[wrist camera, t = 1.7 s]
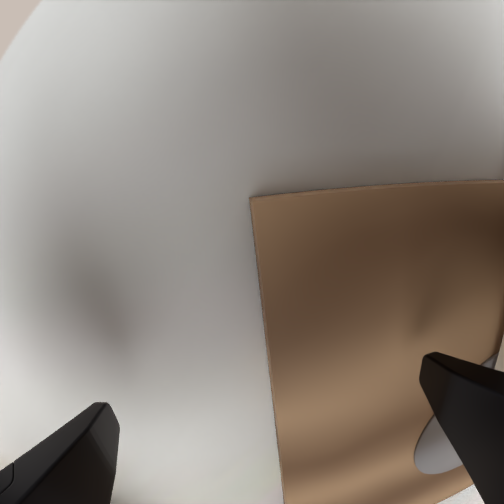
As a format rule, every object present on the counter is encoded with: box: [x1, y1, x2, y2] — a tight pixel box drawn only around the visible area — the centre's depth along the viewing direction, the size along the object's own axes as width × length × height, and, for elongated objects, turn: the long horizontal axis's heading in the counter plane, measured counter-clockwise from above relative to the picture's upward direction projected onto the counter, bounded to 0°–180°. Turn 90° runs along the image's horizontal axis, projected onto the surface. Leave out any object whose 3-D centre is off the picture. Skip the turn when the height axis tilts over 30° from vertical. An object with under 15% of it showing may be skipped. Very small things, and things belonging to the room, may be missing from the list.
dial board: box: [249, 180, 504, 504], centre depth 11 cm, size 20×21×1 cm
